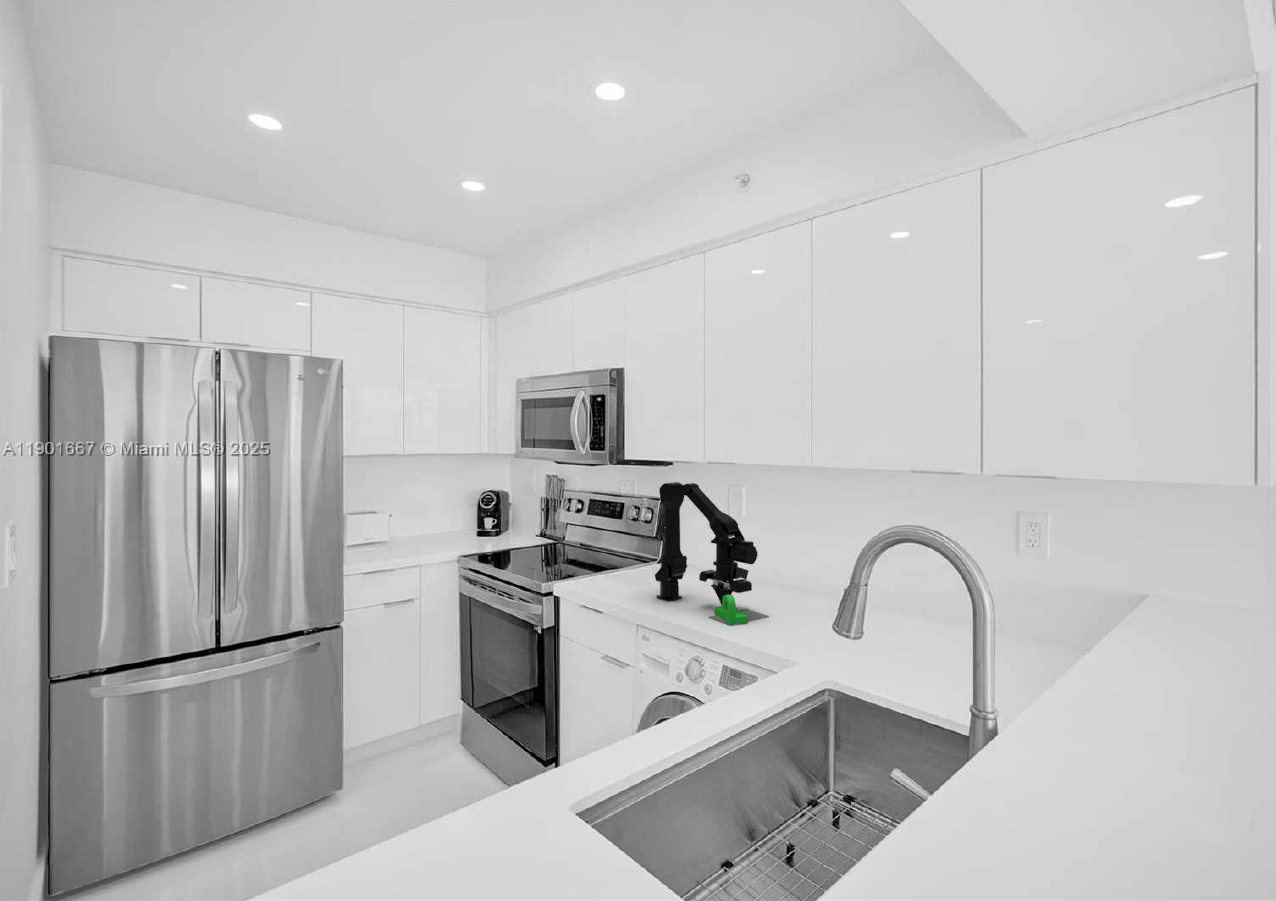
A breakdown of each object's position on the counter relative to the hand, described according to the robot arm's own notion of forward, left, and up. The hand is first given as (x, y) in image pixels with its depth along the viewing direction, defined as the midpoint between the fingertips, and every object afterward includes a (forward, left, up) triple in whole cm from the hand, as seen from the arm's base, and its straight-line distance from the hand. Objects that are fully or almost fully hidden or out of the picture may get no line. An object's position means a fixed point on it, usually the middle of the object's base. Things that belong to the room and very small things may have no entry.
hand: (724, 607), depth 196 cm
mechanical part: (+6, -3, -1) cm, 7 cm away
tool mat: (+6, 0, -1) cm, 7 cm away
